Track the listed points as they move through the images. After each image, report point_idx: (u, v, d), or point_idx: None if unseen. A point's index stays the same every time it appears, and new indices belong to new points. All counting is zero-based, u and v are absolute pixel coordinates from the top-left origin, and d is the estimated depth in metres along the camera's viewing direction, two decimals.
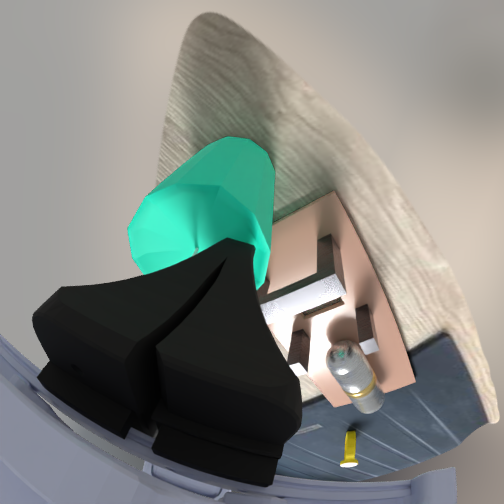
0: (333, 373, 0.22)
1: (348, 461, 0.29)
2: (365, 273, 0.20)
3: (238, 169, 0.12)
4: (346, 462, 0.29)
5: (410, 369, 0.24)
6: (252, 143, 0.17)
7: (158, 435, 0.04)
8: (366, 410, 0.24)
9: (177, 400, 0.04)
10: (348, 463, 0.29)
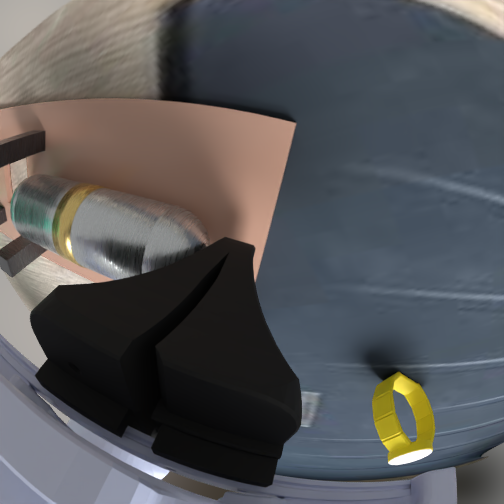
0: (23, 236, 0.10)
1: (395, 452, 0.10)
2: (13, 117, 0.11)
3: None
4: (393, 456, 0.10)
5: (209, 110, 0.09)
6: None
7: (158, 435, 0.04)
8: None
9: (177, 400, 0.04)
10: (401, 457, 0.10)
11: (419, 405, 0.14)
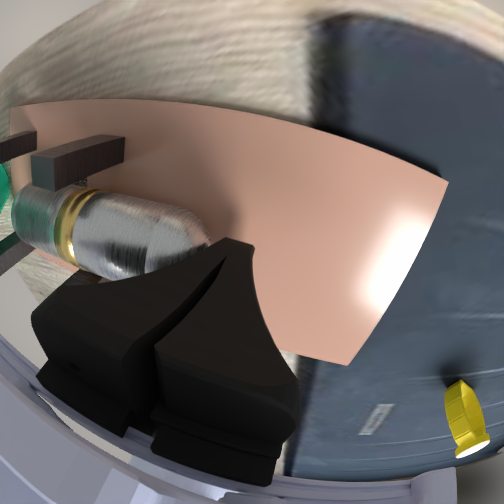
0: (25, 242, 0.10)
1: (464, 446, 0.10)
2: (64, 114, 0.10)
3: None
4: (462, 450, 0.10)
5: (377, 154, 0.09)
6: None
7: (158, 435, 0.04)
8: None
9: (176, 400, 0.04)
10: (468, 450, 0.09)
11: (471, 406, 0.14)
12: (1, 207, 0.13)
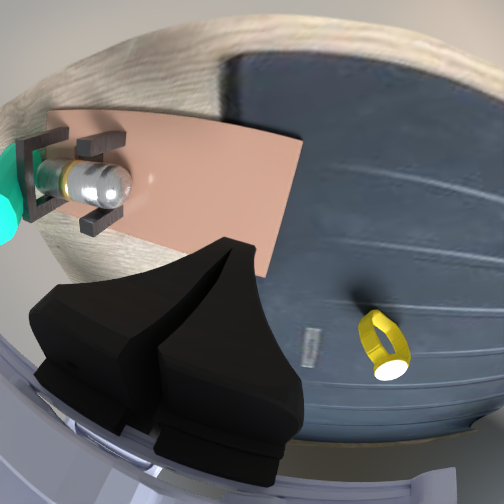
0: (43, 193, 0.19)
1: (378, 363, 0.18)
2: (89, 118, 0.18)
3: None
4: (377, 367, 0.18)
5: (254, 131, 0.17)
6: (7, 148, 0.18)
7: (158, 435, 0.04)
8: (94, 199, 0.18)
9: (179, 401, 0.04)
10: (383, 367, 0.17)
11: (397, 340, 0.22)
12: None
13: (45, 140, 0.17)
